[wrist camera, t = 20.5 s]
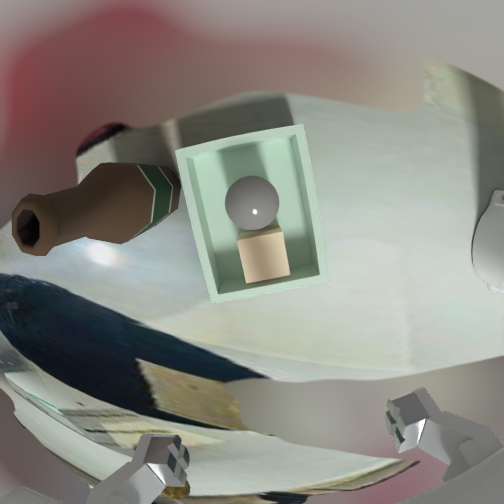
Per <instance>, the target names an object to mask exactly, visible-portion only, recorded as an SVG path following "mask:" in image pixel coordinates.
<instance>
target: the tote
mask: <svg viewBox="0 0 504 504" xmlns="http://www.w3.org/2000/svg"><path fill="white" fill-rule="evenodd" d="M175 153H176V158H177V162H178V167H179V172H180V177H181V181H182V186H183V190H184V195H185V199H186V204H187V208H188V212H189V216H190V221H191V225H192V229H193V233H194V237H195V241H196V245H197V249H198V253H199V257H200V261H201V265H202V269H203V272H204V276H205V280H206V284H207V287H208V291H209V295H210V298H211V302H212V304H213V303H219V302H224V301H230V300H236V299H241V298H247V297H252V296H258V295H263V294H268V293H274V292H279V291H284V290H289V289H294V288H299V287H304V286H309V285H313V284H318V283H323V282H328V281H329V275H328V267H327V259H326V252H325V245H324V237H323V231H322V224H321V217H320V211H319V205H318V199H317V193H316V187H315V182H314V176H313V171H312V166H311V161H310V155H309V150H308V146H307V141H306V136H305V131H304V127H303V124H300V125H293V126H286V127H280V128H274V129H268V130H263V131H257V132H252V133H247V134H242V135H237V136H232V137H228V138H223V139H219V140H214V141H210V142H206V143H202V144H198V145H194V146H190V147H186V148H182V149H178V150H175ZM246 176H258V177H261V178H264V179H266V180H267V181H269V182H270V183H271V184H272V185H273V186H274V187H275V189H276V191H277V193H278V196H279V210H278V213H277V215H276V217H275V218H274V220H273V221H272V222H271V223H270V224H269V225H267V226H270V225H275V224H279V226H280V228H281V229H282V231H283V236H284V242H285V247H286V253H287V259H288V265H289V270H290V275H288V276H283V277H278V278H273V279H267V280H262V281H257V282H252V283H246V280H245V276H244V271H243V267H242V262H241V258H240V253H239V249H238V244H237V237H238V233H239V232H240V231H245V230H247V229H243V228H241V227H239V226H237V225H236V224H234V223H233V222H232V221H231V219H230V218H229V217H228V215H227V212H226V209H225V197H226V194H227V191H228V189H229V188H230V186H231V185H232V184H233V183H234V182H236V181H237V180H239V179H241V178H243V177H246Z"/></svg>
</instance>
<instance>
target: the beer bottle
mask: <svg viewBox="0 0 504 504" xmlns="http://www.w3.org/2000/svg"><path fill="white" fill-rule="evenodd" d="M180 189H181V185H180V183H179V182H178V181H177V179H176V178H175V176H174V175H173V174H172V172H171V171H170V169H169V168H168V167H165V166H157V165H147V164H134V163H113V162H108V163H101V164H99V165H98V166H97V167H96V168H94V169H93V170H92V171H91V172H90V173H89V174H88V175H87V176H86V177H85V178H84V179H83V180H82V181H81V183H80V184H79V185H78V186H77V187H73V188H70V189H66V190H62V191H58V192H55V193H51V194H47V195H36V194H28V195H27V196H26V197H24V198H23V199H21V201H20V202H19V204H18V205H17V207H16V208H15V210H14V211H13V213H12V235H13V237H14V239H15V241H16V243H17V244H18V246H19V248H20V250H21V251H22V252H24V253H27V254H31V255H35V256H46V255H47V254H48V252H49V251H50V250H51V249H52V248H53V247H54V246H58V245H61V244H64V243H67V242H70V241H73V240H76V239H79V238H82V237H86V236H87V238H90V239H95V240H101V241H106V242H111V243H116V244H122V243H125V242H128V241H130V240H131V239H133V238H135V237H137V236H138V235H140V234H142V233H143V232H145V231H147V230H149V229H150V228H152V227H154V226H156V225H157V224H158V223H160V222H161V221H162V220H164V219H165V218H166V217H167V216H169V215H170V214H171V213H172V212H174V211H175V210H176V209H178V204H179V196H180Z"/></svg>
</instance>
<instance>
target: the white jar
mask: <svg viewBox="0 0 504 504" xmlns="http://www.w3.org/2000/svg"><path fill="white" fill-rule="evenodd" d="M225 209H226V212H227V215H228V217H229V218H230V219H231V221H232V222H233V223H234V224H236V225H237V226H239V227H241V228H243V229H247V230H257V229H261V228H263V227H265V226H267V225H269V224H270V223H271V222H272V221H273V220H274V218H275V217H276V215H277V213H278V210H279V196H278V193H277V191H276V189H275V187H274V186H273V185H272V184H271V183H270V182H269V181H267V180H266V179H264V178H261V177H258V176H246V177H243V178H241V179H239V180H237V181H236V182H234V183H233V184H232V185H231V186H230V188H229V189H228V191H227V194H226V197H225Z"/></svg>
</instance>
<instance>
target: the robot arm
mask: <svg viewBox="0 0 504 504" xmlns="http://www.w3.org/2000/svg"><path fill="white" fill-rule="evenodd" d="M472 256H473V265H474V269H475V271H476V273H477V275H478V277H479V278H480V279H481V280H483V281H484V282H486V283H487V285H488V288H489V290H490V291H491V292H492V293H497V292H498V291H502V292H504V191H503V190H498V189H497V190H495V191H494V193H493V195H492V198H491V202H490V205H489V207H488V208H487V210H486V211H485V212H484V214H483V215H482V217H481V219H480V221H479V223H478V226H477V229H476V232H475V236H474V241H473V250H472ZM387 407H388V409H389V410H388V411H387V413H386V418H385V420H386V426H387V429H388V431H389V433H390V434H391V435H393V436H394V440H393V442H394V445H395V447H396V449H397V451H398V453H400V452H403V451H406V450H409V449H412V448H414V447H417V446H418V447H419V448H420V449H422V450H424V451H425V452H427V453H429V454H430V455H432V456H434V457H435V458H437V459H439V460H440V461H442V462H444V463H446V464H447V465H449V467H448V468H447V470H446V472H445V474H444V475H443V477H442V479H443V481H444V483H442V484H440V485H438V486H436V487H434V488H432V489H430V490H427V491H425V492H423V493H420V494H418V495H416V496H414V497H411V498H409V499H406V500H404V501H401V502H398V503H396V504H504V446H503V445H502V443H501V442H500V441H499V439H498V438H497V436H496V435H495V433H494V432H493V431H492V429H491V428H490V427H489V426H486V425H483V424H480V423H477V422H474V421H472V420H469V419H466V418H463V417H460V416H458V415H455V414H452V413H450V412H447V411H443V412H442V411H441V410H440V409H439V407H438V406H437V404H436V403H435V401H434V400H433V399H432V397H431V396H430V394H429V393H428V391H427V390H426V389H425V388H424V387H421V388H418V389H416V390H413V391H410V392H407V393H405V394H402V395H399V396H397V397H394V398H391V399H389V400H388V402H387ZM181 441H182V440H181V438H180V437H179V435H162V434H143V435H142V436H141V437H140V440H139V442H138V445H137V448H136V450H135V453H134V456H133V459H132V461H131V462H127V463H126V464H125V465H124V466H122V467H121V468H120V469H118V470H117V471H116V472H114V473H113V474H112V475H110V476H109V477H108V478H106V479H105V480H103V481H102V482H101V483H99V484H98V485H96V486H95V487H94V488H92V489H91V492H90V494H89V497H88V499H87V501H86V504H151V503H152V502H153V500H154V499H155V498H156V497H157V496H158V495H159V494H160V493H161V492H162V491H163V490H164V489H165V486H172V487H185V483H186V478H187V474H186V472H185V471H184V470H185V469H186V468H187V467H188V466H189V461H190V459H189V452H188V450H187V448H186V446H184V445H182V444H181ZM0 504H63V503H61V502H58V501H55V500H53V499H51V498H48V497H46V496H43V495H41V494H39V493H36V492H35V491H32V490H30V489H28V488H25V487H20V488H17V489H15V490H12V491H10V492H8V493H6V494H4V495H2V496H0Z"/></svg>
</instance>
